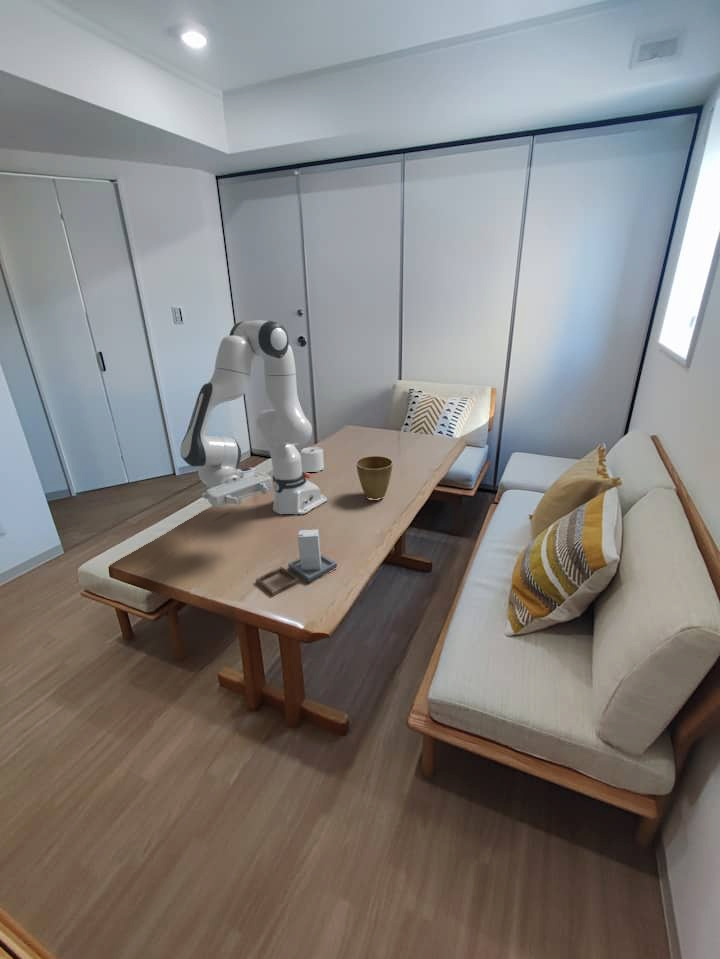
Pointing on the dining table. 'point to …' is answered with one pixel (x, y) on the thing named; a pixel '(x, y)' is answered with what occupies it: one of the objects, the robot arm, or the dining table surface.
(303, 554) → the skincare box
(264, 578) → the brown wooden square frame
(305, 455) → the toilet tissue
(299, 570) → the tray
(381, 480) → the plant pot
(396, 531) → the dining table surface
